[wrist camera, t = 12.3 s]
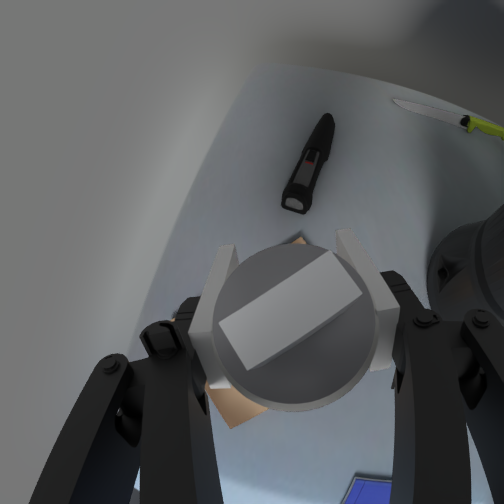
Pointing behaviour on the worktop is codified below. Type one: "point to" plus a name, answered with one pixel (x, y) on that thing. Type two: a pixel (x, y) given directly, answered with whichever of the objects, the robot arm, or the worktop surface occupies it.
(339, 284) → the white bottle
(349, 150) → the worktop surface
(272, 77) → the worktop surface
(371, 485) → the hard drive
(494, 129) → the kitchen knife
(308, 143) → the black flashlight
